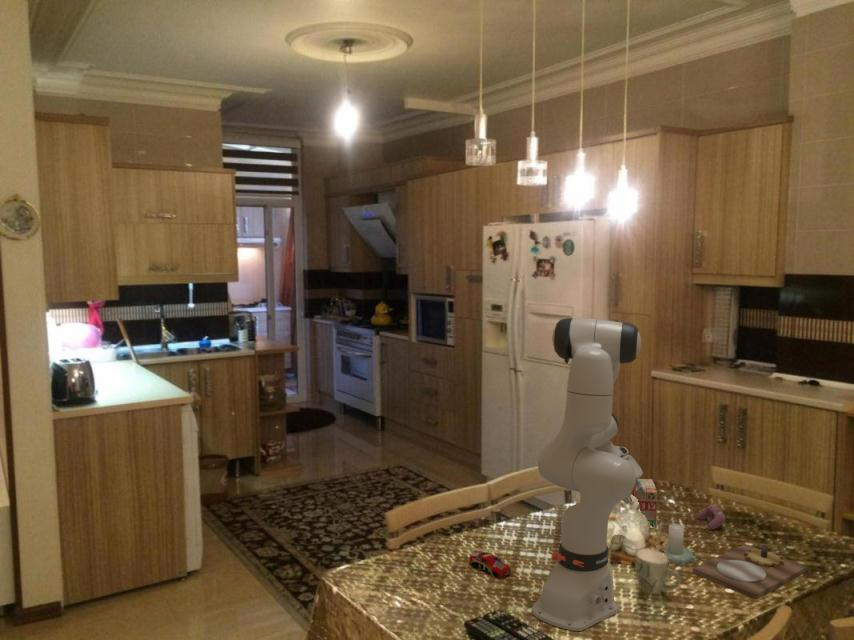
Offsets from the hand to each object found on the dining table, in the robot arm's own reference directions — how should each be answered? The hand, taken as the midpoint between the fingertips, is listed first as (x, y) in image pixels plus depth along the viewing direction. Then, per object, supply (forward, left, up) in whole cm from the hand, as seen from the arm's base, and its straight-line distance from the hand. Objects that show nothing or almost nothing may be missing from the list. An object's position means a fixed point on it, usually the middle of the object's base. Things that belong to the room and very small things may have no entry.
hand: (636, 498), depth 206 cm
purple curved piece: (+30, -11, -15) cm, 36 cm away
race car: (-40, +24, -15) cm, 49 cm away
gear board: (+4, -31, -15) cm, 34 cm away
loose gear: (0, -12, -15) cm, 19 cm away
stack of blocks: (+23, +8, -15) cm, 29 cm away
